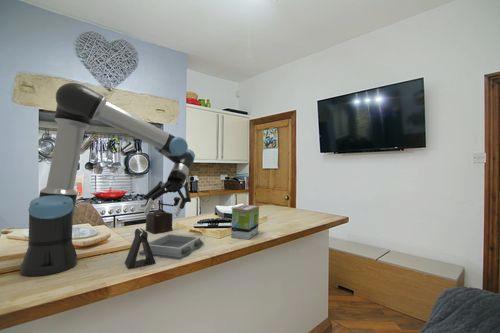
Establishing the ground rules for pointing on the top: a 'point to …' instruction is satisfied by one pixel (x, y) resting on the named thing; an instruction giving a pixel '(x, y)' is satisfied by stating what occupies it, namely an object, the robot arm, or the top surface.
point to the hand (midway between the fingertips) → (160, 213)
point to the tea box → (245, 221)
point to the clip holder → (174, 246)
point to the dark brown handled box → (160, 219)
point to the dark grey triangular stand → (134, 251)
